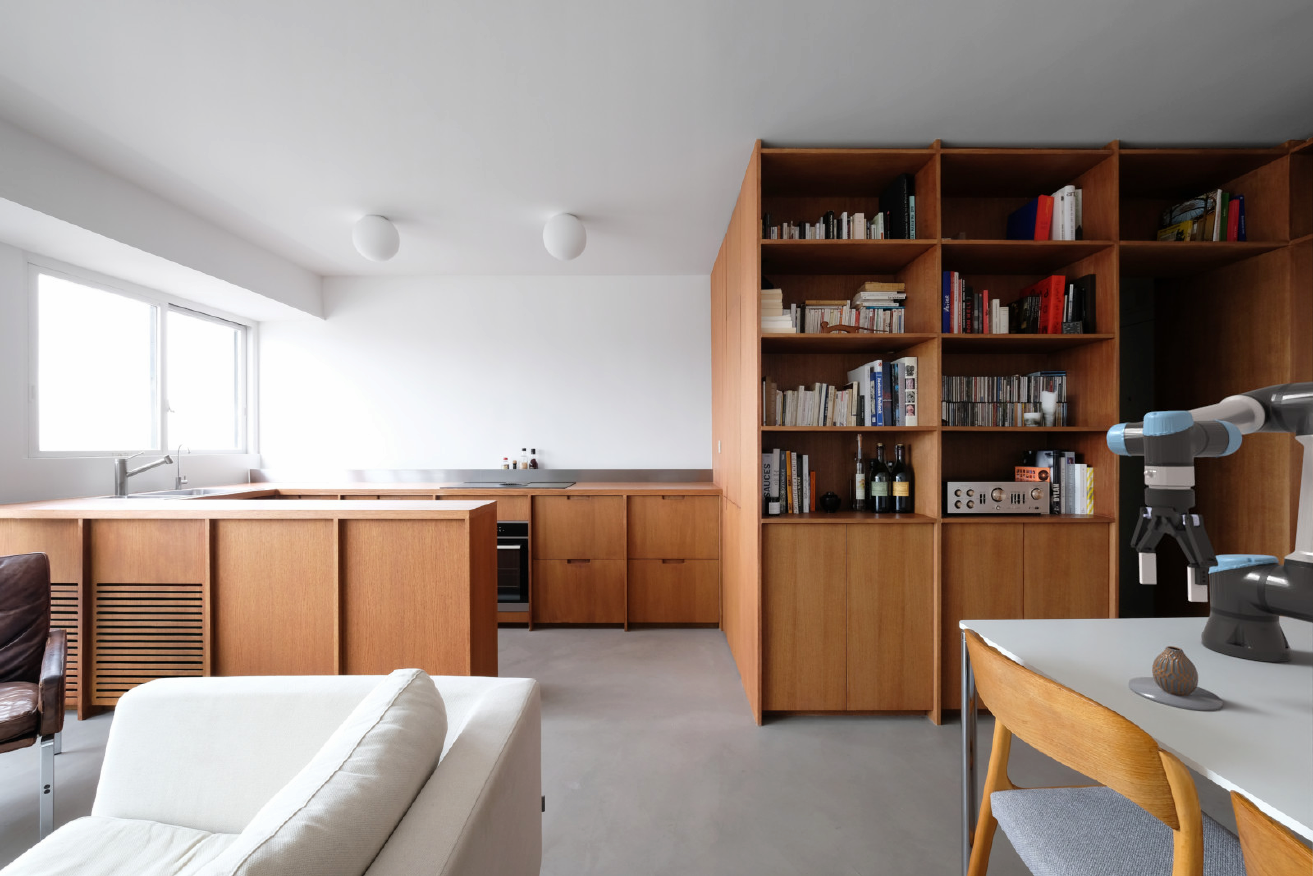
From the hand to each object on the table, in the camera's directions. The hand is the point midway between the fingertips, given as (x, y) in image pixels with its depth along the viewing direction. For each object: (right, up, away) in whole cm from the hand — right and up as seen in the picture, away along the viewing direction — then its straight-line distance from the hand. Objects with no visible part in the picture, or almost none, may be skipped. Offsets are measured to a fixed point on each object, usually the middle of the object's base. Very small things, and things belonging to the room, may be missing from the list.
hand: (1171, 592), depth 116 cm
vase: (0, -20, 0) cm, 20 cm away
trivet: (0, -21, 0) cm, 21 cm away
